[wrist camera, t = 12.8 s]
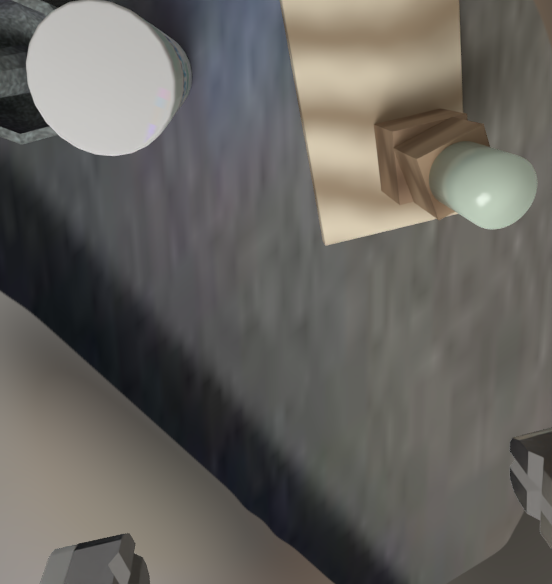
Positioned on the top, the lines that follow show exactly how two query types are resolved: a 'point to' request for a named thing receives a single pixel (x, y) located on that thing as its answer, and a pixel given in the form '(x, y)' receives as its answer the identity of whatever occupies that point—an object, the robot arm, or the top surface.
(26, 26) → the mortar and pestle
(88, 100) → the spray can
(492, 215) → the canister
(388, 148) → the base block
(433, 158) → the top block
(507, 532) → the top surface
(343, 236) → the board
